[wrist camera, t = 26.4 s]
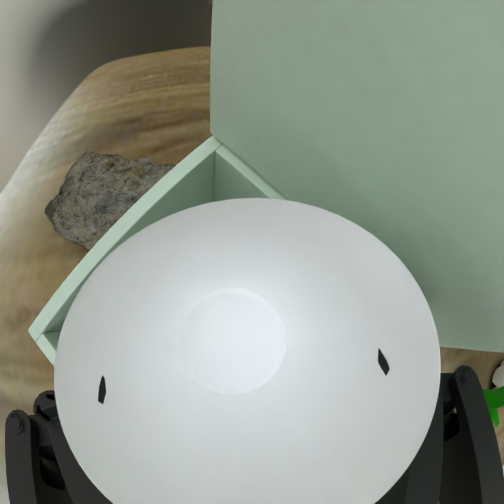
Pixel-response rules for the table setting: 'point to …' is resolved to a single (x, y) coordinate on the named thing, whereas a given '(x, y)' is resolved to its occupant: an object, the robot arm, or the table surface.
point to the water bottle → (499, 376)
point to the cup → (248, 361)
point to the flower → (494, 402)
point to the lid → (381, 132)
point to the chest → (152, 210)
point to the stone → (100, 194)
